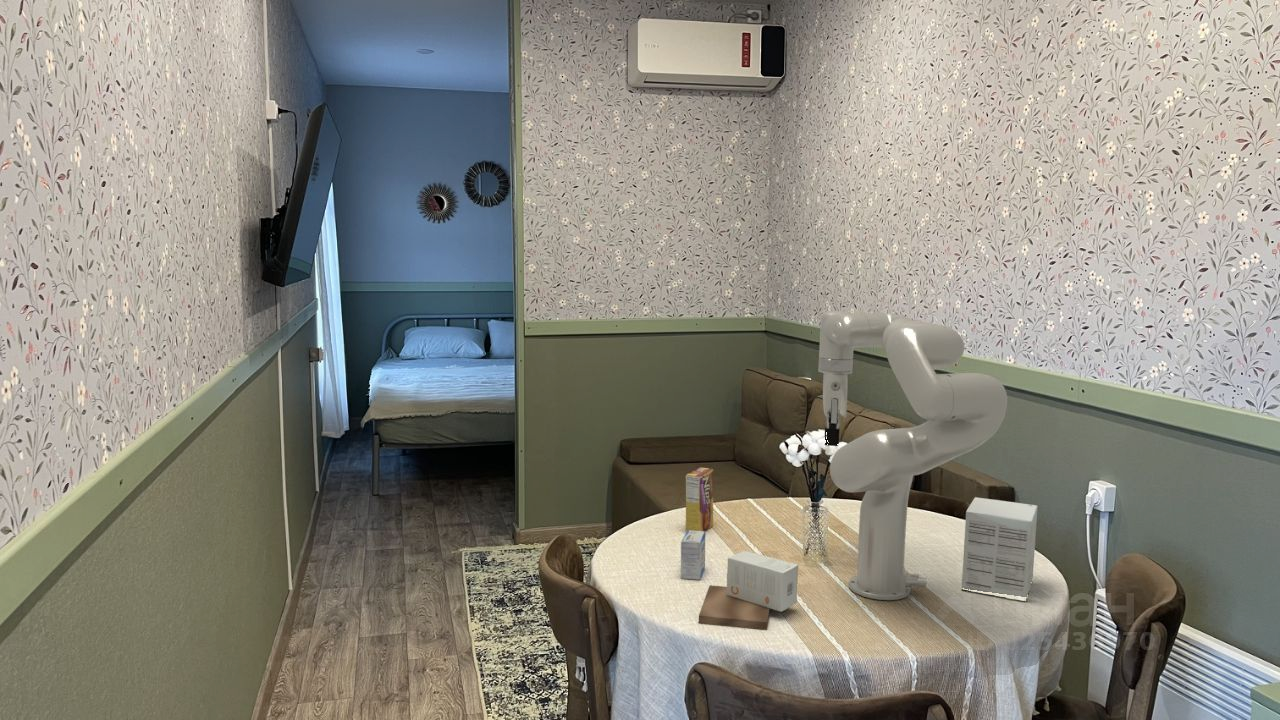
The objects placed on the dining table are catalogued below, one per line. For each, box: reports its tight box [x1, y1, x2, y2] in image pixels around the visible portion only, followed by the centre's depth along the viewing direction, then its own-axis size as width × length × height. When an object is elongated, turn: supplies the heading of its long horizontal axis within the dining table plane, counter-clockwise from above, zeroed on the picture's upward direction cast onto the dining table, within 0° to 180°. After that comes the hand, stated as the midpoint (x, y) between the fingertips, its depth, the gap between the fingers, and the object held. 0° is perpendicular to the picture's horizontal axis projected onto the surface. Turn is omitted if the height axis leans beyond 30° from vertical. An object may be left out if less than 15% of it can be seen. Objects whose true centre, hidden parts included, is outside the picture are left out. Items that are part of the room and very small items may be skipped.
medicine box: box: [680, 530, 706, 581], centre depth 198 cm, size 8×4×9 cm, turn 168°
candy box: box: [685, 467, 714, 533], centre depth 229 cm, size 9×4×15 cm, turn 152°
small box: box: [726, 550, 799, 613], centre depth 180 cm, size 8×6×13 cm
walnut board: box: [698, 584, 771, 630], centre depth 179 cm, size 13×16×2 cm
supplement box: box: [961, 496, 1038, 597], centre depth 193 cm, size 13×13×18 cm
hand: (831, 444), depth 206 cm, fingers closed
